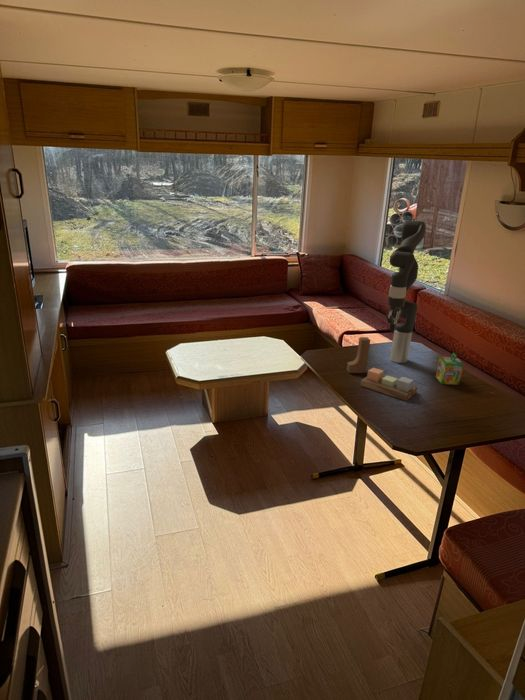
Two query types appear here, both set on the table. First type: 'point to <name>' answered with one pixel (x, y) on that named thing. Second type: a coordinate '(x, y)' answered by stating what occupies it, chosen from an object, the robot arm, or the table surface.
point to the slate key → (404, 384)
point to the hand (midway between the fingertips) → (391, 331)
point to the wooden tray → (388, 389)
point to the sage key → (389, 381)
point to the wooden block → (360, 357)
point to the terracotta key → (375, 375)
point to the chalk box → (449, 370)
